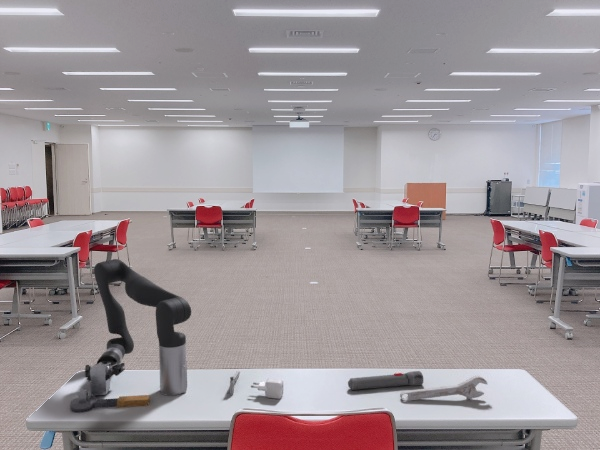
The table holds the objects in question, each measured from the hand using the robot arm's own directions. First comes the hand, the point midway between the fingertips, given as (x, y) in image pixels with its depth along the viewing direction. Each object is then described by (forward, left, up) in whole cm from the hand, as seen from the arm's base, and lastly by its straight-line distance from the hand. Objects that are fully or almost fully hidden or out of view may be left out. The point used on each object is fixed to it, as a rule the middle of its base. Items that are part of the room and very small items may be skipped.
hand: (98, 378), depth 166 cm
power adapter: (-58, +6, -7) cm, 59 cm away
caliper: (-47, -6, -8) cm, 48 cm away
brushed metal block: (0, -3, -6) cm, 7 cm away
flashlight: (-101, +5, -8) cm, 102 cm away
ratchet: (-5, +6, -7) cm, 11 cm away
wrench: (-118, +17, -8) cm, 119 cm away
